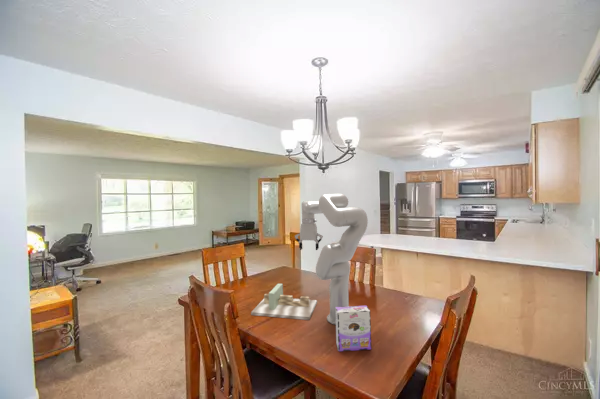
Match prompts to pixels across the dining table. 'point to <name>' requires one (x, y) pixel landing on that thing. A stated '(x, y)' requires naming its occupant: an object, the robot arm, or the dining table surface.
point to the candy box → (353, 328)
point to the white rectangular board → (287, 307)
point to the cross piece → (275, 296)
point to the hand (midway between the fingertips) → (309, 249)
